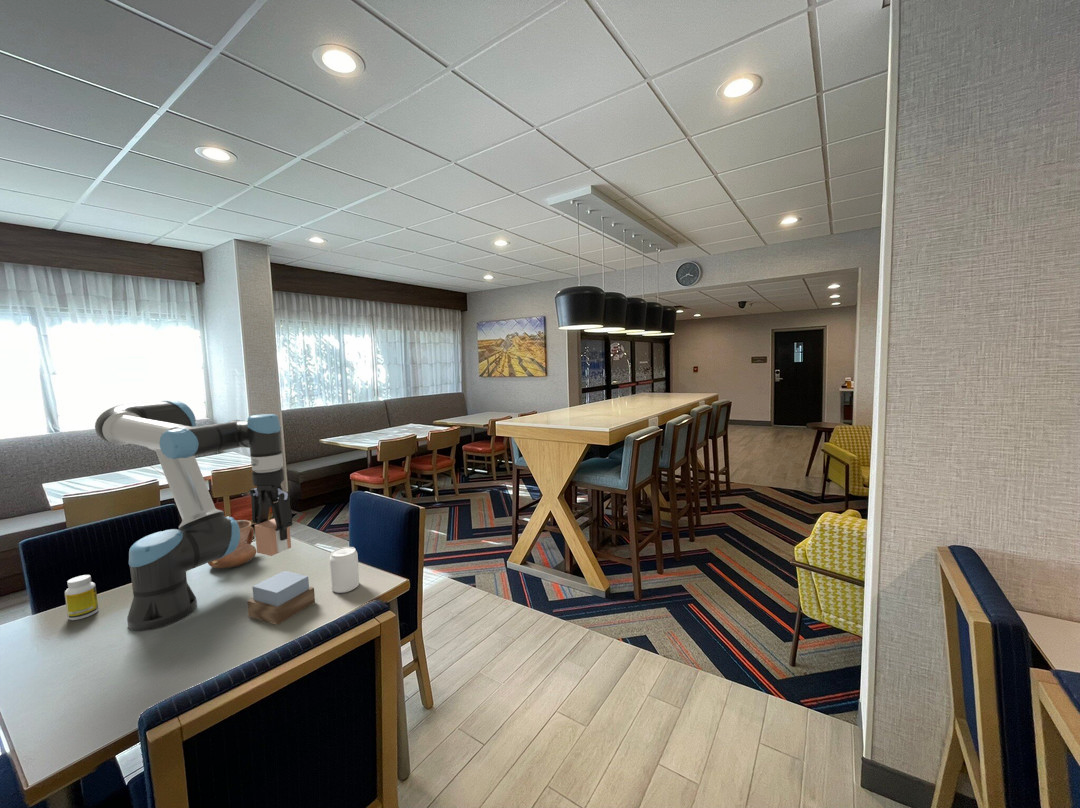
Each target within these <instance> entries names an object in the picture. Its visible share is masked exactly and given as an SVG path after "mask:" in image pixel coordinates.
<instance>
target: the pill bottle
mask: <svg viewBox="0 0 1080 808" xmlns="http://www.w3.org/2000/svg"><path fill="white" fill-rule="evenodd" d="M66 582H67V587H68V588H66V590H64V598H65V599H64V600H65V607H66V614H67V618H68V620H69V621H79V620H82V619H86V618H88V617H91V616H93V615H95V614H96V613H97V612H98V611H99V602H98V594H97V587H96V583H95V582H93V581H92V577H91V575H90V574H83V575H78V576H75V577H72V578H70V579H68V580H67V581H66Z"/></svg>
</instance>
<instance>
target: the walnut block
mask: <svg viewBox="0 0 1080 808" xmlns="http://www.w3.org/2000/svg"><path fill="white" fill-rule="evenodd" d="M246 602H247V603H246V604H247V614H248V617H250V618H252V619H257V620H259V621H263V622H267V623H271V624H274V625H277V626H279V625H280V624H282V623H284V622H285V621H287V620H289V619H291V618H292V617H293V616H295V615H297V614H298V613H300V612H302V611H303V610H306V609H307V608H308V607H310V606H311V605H313V604H315V603H316V597H315V588H314V587H313V586H309V589H308V590H307V591H305V592H303V593H301V594H299V595H298V596H296V597H294V598H292V599H290V600H289V601H287V602H285V603H283V604H282V605H280V606H278V607H277V606H274V605H270V604H267V603H263V602H260V601H256V600H253V597H252V598H250V599H248V600H247V601H246Z"/></svg>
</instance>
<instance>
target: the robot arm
mask: <svg viewBox="0 0 1080 808" xmlns="http://www.w3.org/2000/svg"><path fill="white" fill-rule="evenodd" d="M196 422H197V420H196V416H195V414H194V411H193V410H192V408H191V407H190V406H189V405H187V404H186V403H184V402H181V401H179V400H171V401H170V400H162V401H155V402H154V401H153V402H142V403H129V404H128V403H127V404H120V405H116V406H113V407H110V408H108V409H107V410H104V411H103V412H102V413H100V414H99V416H98V417H97V419H96V420H95V424H94V430H95V433H96V435H97V436H98V437H99V438H100V439H101V440H103V441H105V442H107V443H109V444H113V445H117V446H125V445H129V444H130V445H135V446H140V447H145V448H147V449H150V450H151V451H154V452H155V453H156V456H157V458H158V461H159V464H160V466H161V469H162V471H163V474H164V477H165V479H166V482H167V483H168V487H169V489H170V492H171V495H172V497H173V499H174V502H175V504H176V507H177V509H178V512H179V515H180V517H181V523H180V524H179V525H178V529H177V528H170V529H165V530H163V531H162V530H160V531H157V532H153V533H151V534H148V535H145V536H143V537H142V538H140V539H138V540H136V541H135V542H134V543H133V544H132V545H131V546H130V548H129V551H128V565H129V570H130V572H129V573H130V578H131V586H132V596H133V597H132V601H131V605H130V607H129V611H128V615H127V620H126V621H127V627H128V629H130V630H131V631H137V632H138V631H150V630H155V629H159V628H161V627H162V628H163V627H166V626H168V625H172V624H174V623H177V622H178V621H181V620H182V619H185V618H186V617H188V616H189V615H191V614H192V613H193V612H195V610H196V609H197V607H198V601H197V597H196V595H195V593H194V591H193V590H192V589H191V587H190V585H189V583H188V580H187V572H188V571H191V570H194V569H195V568H198V567H201V566H203V565H206V564H208V563H209V562H211V561H214V560H216V559H220V558H222V557H224V556H226V555H228V554H230V553H232V552H233V551H234V550H235V549H236V548H237V546H238V544H239V541H240V529H239V525H238V523H237V521H236V519H235V518H234V517H233V516H225V513H224V510H221V509H218V508H216V506H215V503H214V501H213V499H212V496H211V494H210V492H209V489H208V485H207V484H206V481H205V479H204V477H203V473H202V471H201V468H200V466H199V464H198V460H197V459H196V456H200V455H205V454H206V455H207V454H211V453H217V452H221V451H227V450H233V449H234V450H235V449H238V448H248V449H249V452H250V463H251V470H252V471H253V472H251V477H252V485H253V486H256V488H252V489H250V490H249V495H250V497H251V498H250V499H251V518H252V519H251V520H252V521H251V523H253V524H256V525H257V524H260V523H262V522H265V521H268V520H269V515H270V508H271V511H272V513H273V514H272V515H273V519H274V518H275V522H276V525H277V529H275V533H276V545H277V552H278V553H277V554H279V553H280V554H281V553H282V552H285V551H287V550H289V549H288V545H287V527H289V526H290V527H291V526H293V516H292V510H291V502H290V501H291V500H290V499H291V498H290V497H291V491H284V490H283V487H282V483H283V482H284V480H285V474H284V473H285V472H284V468H282V467H284V458H283V452H282V451H283V449H282V447H283V446H282V432H281V431H282V428H281V424H280V417H279V416H278V415H277V414H276V413H275V414H274V413H263V414H262V413H261V414H253V415H250V416H248V417H247V420H240V419H234V420H226V421H224V422H222V423H213V424H207V425H197V423H196ZM286 549H287V550H286Z"/></svg>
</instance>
